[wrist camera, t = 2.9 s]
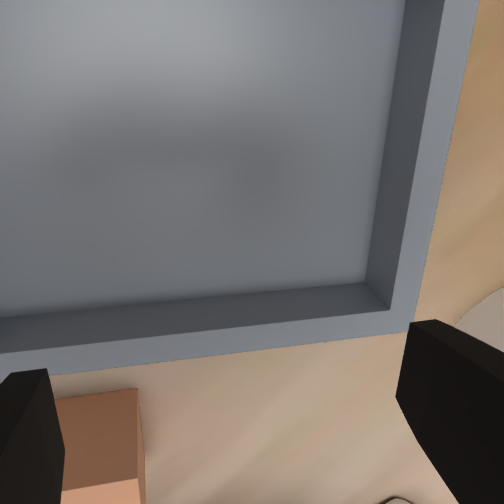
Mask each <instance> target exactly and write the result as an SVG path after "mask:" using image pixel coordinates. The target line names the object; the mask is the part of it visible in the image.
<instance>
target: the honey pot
mask: <svg viewBox="0 0 504 504" xmlns="http://www.w3.org/2000/svg"><path fill="white" fill-rule="evenodd" d="M454 327H455V328H457V329H459V330H461V331H463V332H465V333H467V334H469V335H471V336H473V337H475V338H477V339H479V340H481V341H483V342H485V343H487V344H489V345H491V346H493V347H495V348H497V349H498V350H500V351H502V352H504V287H503V288H501V289H499V290H497V291H495V292H493V293H491V294H490V295H489V296H487V297H486V298H485V299H484V300H482V301H481V302H480V303H478V304H477V305H476V306H474V307H473V308H472V309H470V310H469V311H468V312H466V314H465V315H464V316H463V317H462V318H461V319H460V320H459V321H458V322H457V323H456V324H455V326H454Z"/></svg>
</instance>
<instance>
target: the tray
mask: <svg viewBox="0 0 504 504" xmlns="http://www.w3.org/2000/svg"><path fill="white" fill-rule="evenodd" d="M478 4H479V0H0V382H3V380H4V379H5V378H6V377H7V376H8V375H9V374H10V373H12V372H19V371H27V370H35V369H43V368H47V370H48V374H49V376H53V375H61V374H69V373H77V372H85V371H93V370H101V369H109V368H117V367H126V366H134V365H142V364H150V363H158V362H166V361H174V360H182V359H190V358H198V357H207V356H215V355H223V354H231V353H239V352H247V351H255V350H263V349H271V348H279V347H287V346H296V345H304V344H312V343H320V342H328V341H336V340H344V339H352V338H360V337H368V336H377V335H385V334H393V333H401V332H408V329H409V324H410V322H413V321H414V316H415V311H416V306H417V302H418V297H419V292H420V287H421V282H422V277H423V272H424V267H425V262H426V258H427V253H428V248H429V243H430V238H431V233H432V228H433V223H434V219H435V214H436V209H437V204H438V199H439V194H440V189H441V184H442V180H443V175H444V170H445V165H446V160H447V155H448V150H449V145H450V140H451V136H452V131H453V126H454V121H455V116H456V111H457V106H458V101H459V97H460V92H461V87H462V82H463V77H464V72H465V67H466V62H467V58H468V53H469V48H470V43H471V38H472V33H473V28H474V23H475V18H476V14H477V9H478Z"/></svg>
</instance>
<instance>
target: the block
mask: <svg viewBox="0 0 504 504" xmlns="http://www.w3.org/2000/svg"><path fill="white" fill-rule="evenodd" d="M54 401H55V406H56V410H57V415H58V419H59V424H60V428H61V433H62V437H63V442H64V446H65V461H64V473H63V484H62V494H61V504H146V494H145V455H144V446H143V437H142V428H141V419H140V409H139V400H138V391H137V388H135V389H128V390H120V391H113V392H106V393H98V394H91V395H83V396H76V397H68V398H61V399H54Z"/></svg>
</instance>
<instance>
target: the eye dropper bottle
mask: <svg viewBox="0 0 504 504" xmlns="http://www.w3.org/2000/svg"><path fill="white" fill-rule="evenodd" d="M385 504H411V503H409V502H407V501H405V500H402V499H393V500H390V501H389V502H387V503H385Z"/></svg>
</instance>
